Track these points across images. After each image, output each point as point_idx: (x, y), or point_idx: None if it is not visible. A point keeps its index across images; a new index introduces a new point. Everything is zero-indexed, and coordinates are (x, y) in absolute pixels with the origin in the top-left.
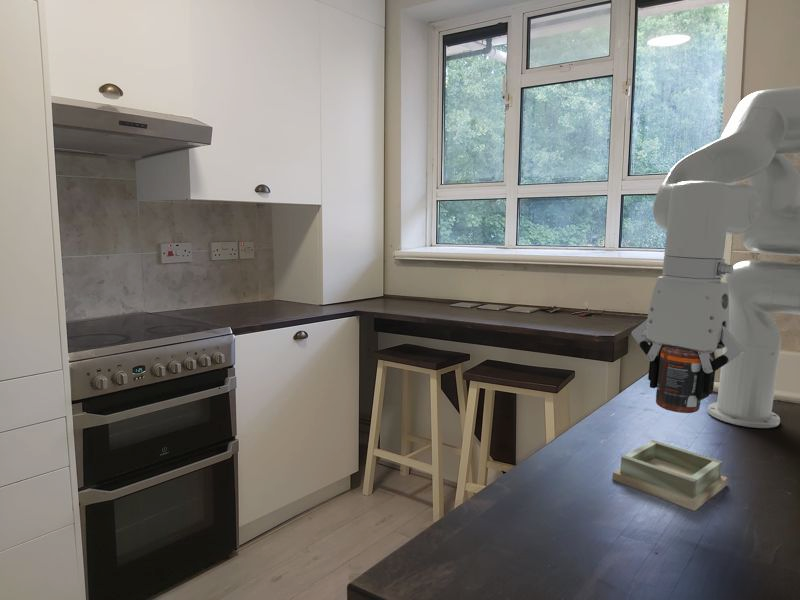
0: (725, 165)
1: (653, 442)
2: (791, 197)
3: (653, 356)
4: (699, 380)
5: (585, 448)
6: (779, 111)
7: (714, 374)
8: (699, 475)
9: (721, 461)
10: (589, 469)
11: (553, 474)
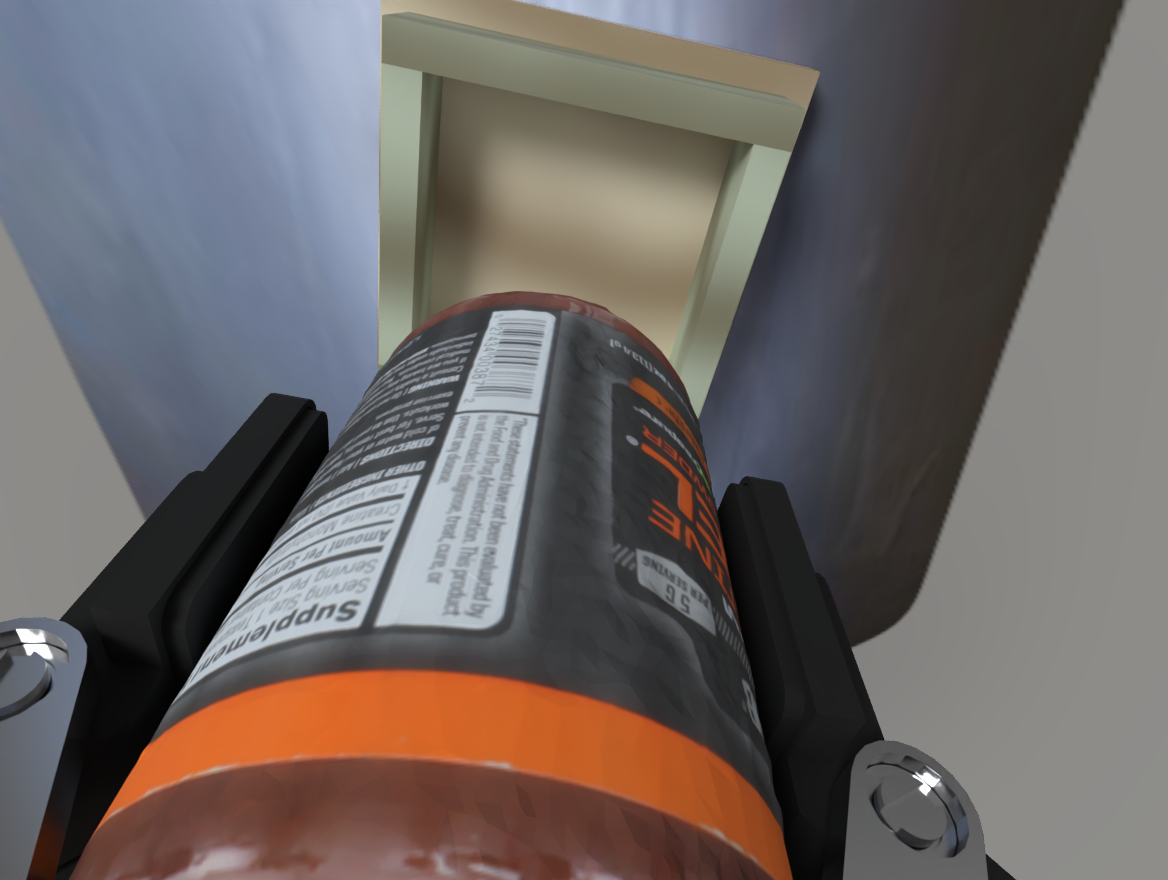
0: None
1: (404, 70)
2: None
3: None
4: None
5: (94, 78)
6: None
7: (875, 738)
8: (702, 376)
9: (800, 112)
10: (275, 318)
11: (223, 437)
